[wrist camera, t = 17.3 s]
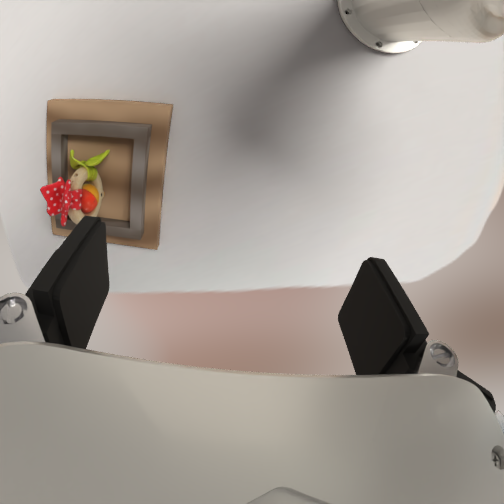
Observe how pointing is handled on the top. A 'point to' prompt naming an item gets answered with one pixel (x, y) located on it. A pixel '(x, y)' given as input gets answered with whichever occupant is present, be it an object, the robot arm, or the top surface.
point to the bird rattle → (76, 191)
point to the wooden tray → (114, 161)
